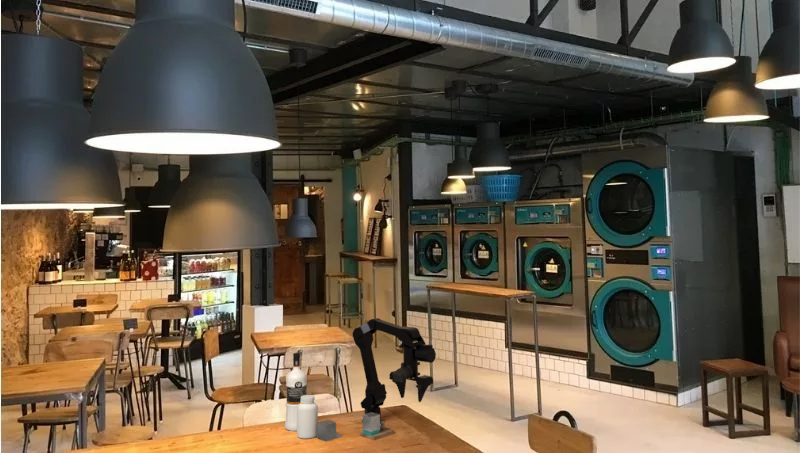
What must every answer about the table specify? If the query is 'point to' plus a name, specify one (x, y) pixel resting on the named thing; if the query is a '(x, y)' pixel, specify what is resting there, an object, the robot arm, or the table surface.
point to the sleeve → (371, 423)
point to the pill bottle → (307, 417)
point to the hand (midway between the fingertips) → (411, 399)
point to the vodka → (294, 392)
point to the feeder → (327, 430)
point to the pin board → (383, 432)
